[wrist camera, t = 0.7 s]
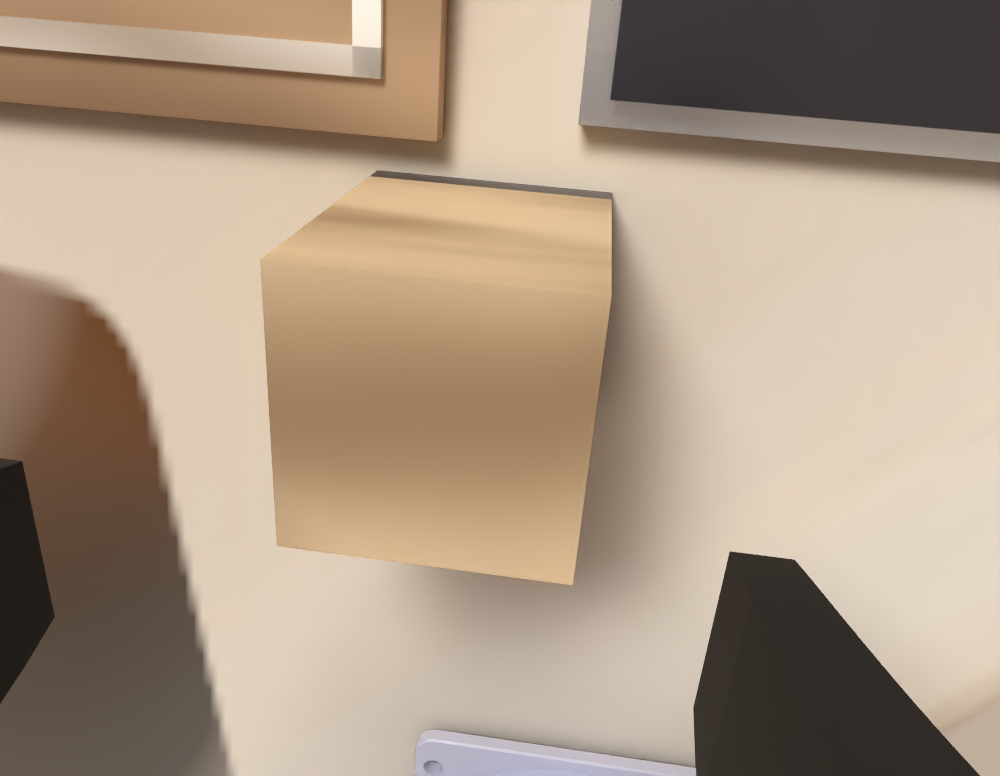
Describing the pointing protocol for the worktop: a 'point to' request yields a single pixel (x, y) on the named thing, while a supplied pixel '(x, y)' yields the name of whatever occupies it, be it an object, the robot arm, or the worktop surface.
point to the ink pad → (801, 72)
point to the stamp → (439, 373)
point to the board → (235, 61)
